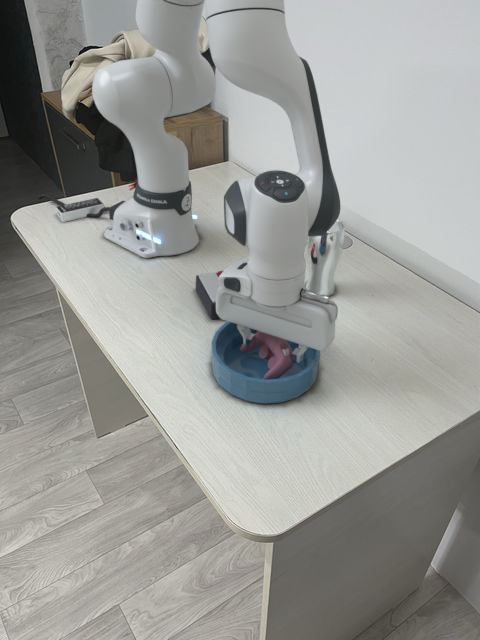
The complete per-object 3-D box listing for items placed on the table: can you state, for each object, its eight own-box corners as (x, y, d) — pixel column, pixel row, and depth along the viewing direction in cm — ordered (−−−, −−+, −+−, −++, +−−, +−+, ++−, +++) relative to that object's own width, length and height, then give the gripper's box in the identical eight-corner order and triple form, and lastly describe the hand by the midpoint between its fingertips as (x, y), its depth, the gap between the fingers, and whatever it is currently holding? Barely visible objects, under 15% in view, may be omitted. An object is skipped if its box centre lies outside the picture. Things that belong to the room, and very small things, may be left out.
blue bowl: (191, 379, 91) (190, 356, 88) (245, 323, 104) (245, 301, 101) (289, 419, 85) (291, 397, 82) (333, 354, 98) (336, 333, 95)
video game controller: (281, 388, 93) (304, 357, 90) (263, 384, 89) (287, 352, 87) (254, 352, 99) (275, 322, 96) (236, 348, 96) (257, 317, 93)
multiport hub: (105, 212, 137) (104, 203, 136) (62, 222, 132) (60, 213, 131) (99, 205, 140) (97, 197, 139) (56, 215, 135) (55, 206, 134)
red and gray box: (284, 291, 107) (211, 301, 101) (281, 309, 109) (210, 319, 104) (264, 263, 114) (195, 271, 109) (262, 281, 117) (195, 289, 112)
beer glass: (334, 300, 111) (344, 235, 102) (301, 295, 112) (308, 230, 103) (337, 282, 117) (347, 218, 107) (305, 278, 117) (312, 214, 108)
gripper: (346, 289, 82) (336, 360, 90) (229, 257, 89) (230, 325, 97) (331, 310, 77) (322, 382, 86) (209, 274, 84) (212, 344, 93)
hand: (272, 351), depth 92 cm, fingers closed on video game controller, 8 cm apart
